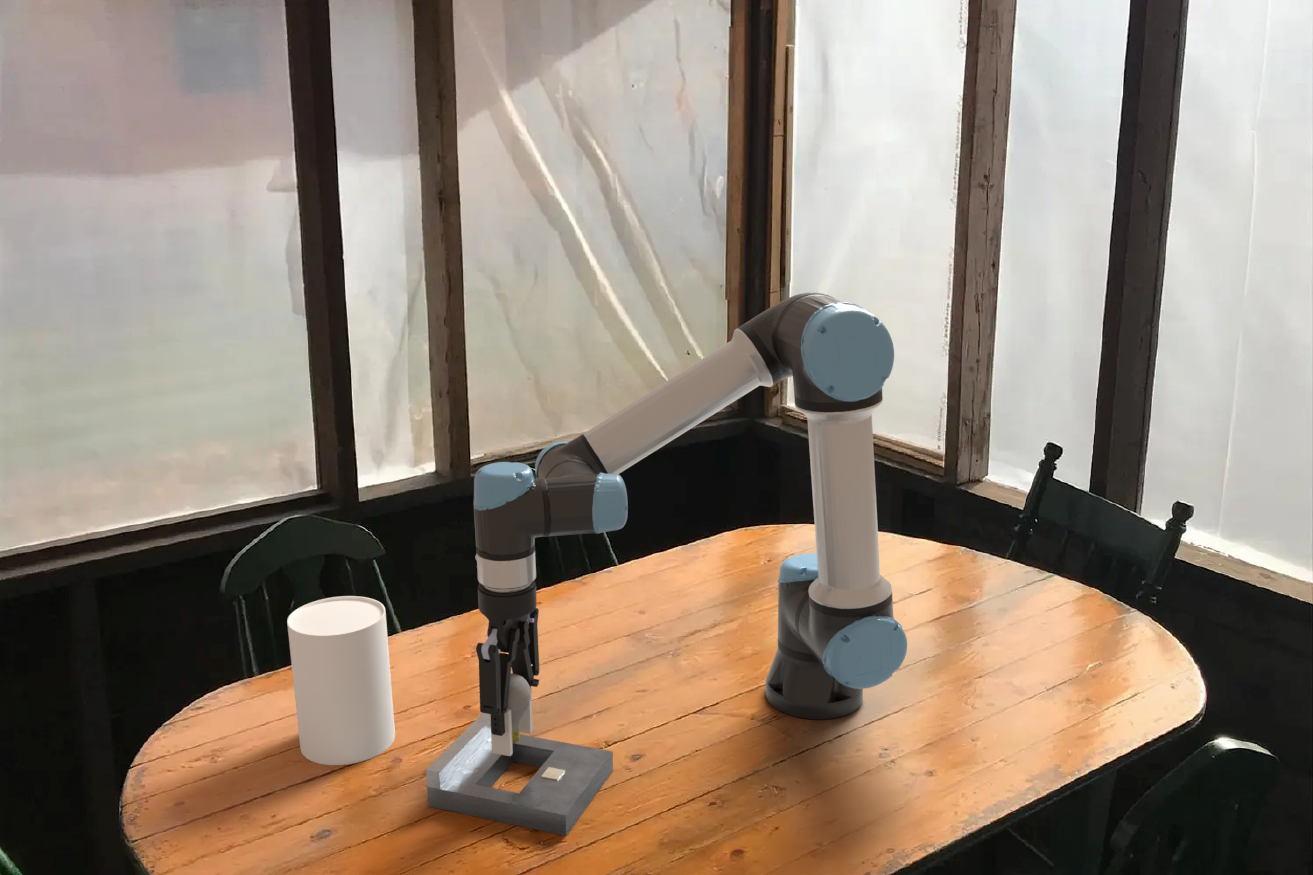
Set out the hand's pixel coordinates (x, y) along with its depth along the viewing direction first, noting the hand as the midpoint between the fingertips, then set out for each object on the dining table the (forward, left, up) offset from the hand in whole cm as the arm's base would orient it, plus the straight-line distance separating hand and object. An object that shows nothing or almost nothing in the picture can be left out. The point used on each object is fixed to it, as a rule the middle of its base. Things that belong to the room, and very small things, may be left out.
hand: (512, 741), depth 154 cm
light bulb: (0, 0, -1) cm, 1 cm away
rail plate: (-1, 0, -7) cm, 7 cm away
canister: (+29, -3, -7) cm, 30 cm away
